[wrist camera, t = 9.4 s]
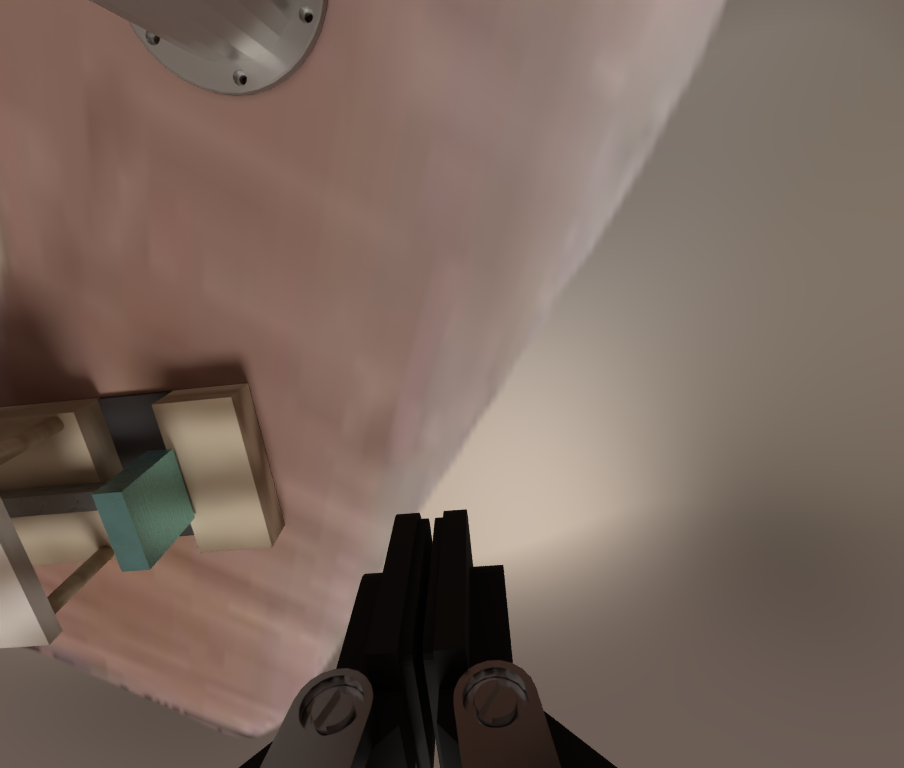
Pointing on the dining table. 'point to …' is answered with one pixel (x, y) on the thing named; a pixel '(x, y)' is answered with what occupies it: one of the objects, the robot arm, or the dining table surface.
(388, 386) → the dining table surface
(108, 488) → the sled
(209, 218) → the dining table surface
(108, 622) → the dining table surface
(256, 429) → the tunnel
